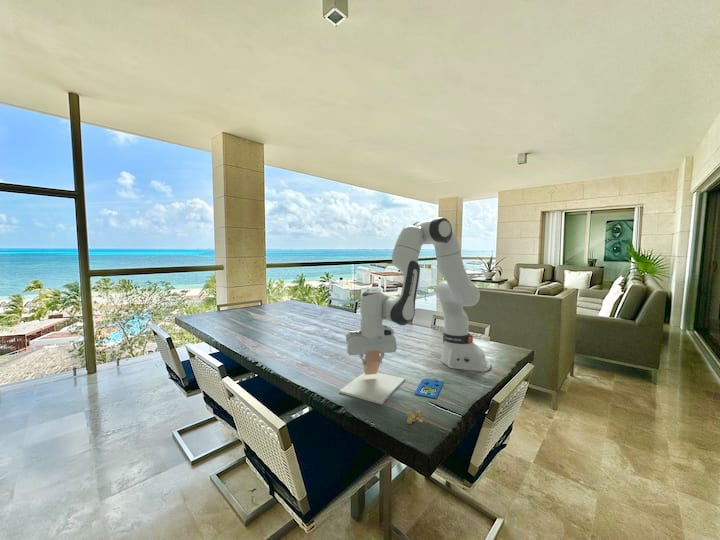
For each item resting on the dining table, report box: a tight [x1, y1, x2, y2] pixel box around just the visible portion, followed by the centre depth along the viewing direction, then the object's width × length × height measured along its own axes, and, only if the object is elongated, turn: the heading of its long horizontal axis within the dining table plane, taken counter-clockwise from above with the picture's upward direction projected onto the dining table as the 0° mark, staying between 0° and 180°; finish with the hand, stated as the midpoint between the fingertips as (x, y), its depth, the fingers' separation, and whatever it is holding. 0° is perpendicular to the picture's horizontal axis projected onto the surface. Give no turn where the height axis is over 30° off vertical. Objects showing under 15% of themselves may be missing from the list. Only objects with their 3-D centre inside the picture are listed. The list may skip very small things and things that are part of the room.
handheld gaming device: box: [413, 378, 444, 400], centre depth 115 cm, size 8×1×15 cm
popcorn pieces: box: [406, 410, 424, 425], centre depth 94 cm, size 5×5×2 cm
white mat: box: [338, 372, 406, 405], centre depth 117 cm, size 18×22×1 cm
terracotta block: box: [363, 350, 381, 375], centre depth 120 cm, size 5×5×12 cm
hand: (371, 363), depth 120 cm, fingers closed on terracotta block, 5 cm apart
